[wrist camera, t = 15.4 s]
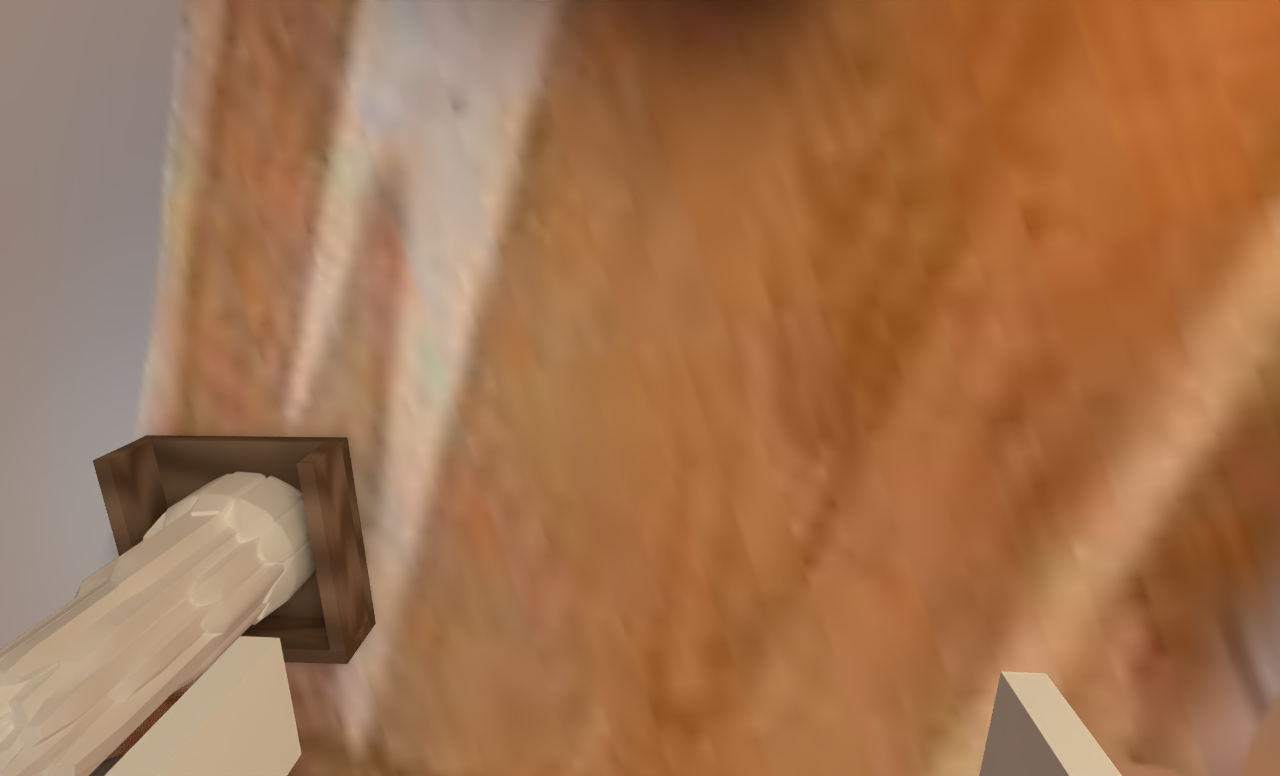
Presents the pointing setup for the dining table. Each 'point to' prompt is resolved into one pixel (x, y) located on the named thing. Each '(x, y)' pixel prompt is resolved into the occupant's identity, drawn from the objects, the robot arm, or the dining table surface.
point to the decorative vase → (150, 623)
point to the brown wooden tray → (321, 470)
